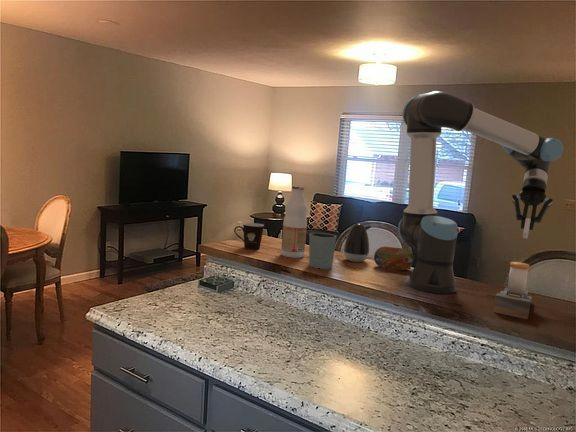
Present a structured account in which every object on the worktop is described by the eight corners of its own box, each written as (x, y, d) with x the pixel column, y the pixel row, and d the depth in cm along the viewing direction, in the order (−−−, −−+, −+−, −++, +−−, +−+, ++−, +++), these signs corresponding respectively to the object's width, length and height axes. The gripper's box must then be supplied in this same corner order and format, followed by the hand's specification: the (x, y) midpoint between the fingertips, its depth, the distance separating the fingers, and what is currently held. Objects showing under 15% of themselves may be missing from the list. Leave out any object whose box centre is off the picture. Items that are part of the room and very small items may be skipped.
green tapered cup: (318, 270, 171) (321, 237, 170) (301, 264, 179) (303, 232, 178) (339, 268, 177) (342, 236, 176) (321, 262, 185) (324, 231, 184)
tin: (373, 267, 185) (375, 245, 184) (372, 265, 188) (375, 244, 187) (412, 271, 183) (415, 250, 182) (412, 269, 186) (414, 248, 185)
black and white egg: (373, 263, 191) (377, 225, 189) (350, 263, 187) (354, 225, 185) (360, 257, 200) (364, 221, 198) (338, 257, 196) (341, 221, 194)
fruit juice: (280, 257, 188) (285, 186, 185) (281, 252, 198) (287, 184, 194) (303, 259, 188) (310, 188, 184) (304, 254, 197) (310, 186, 194)
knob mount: (500, 296, 156) (502, 280, 156) (530, 302, 152) (533, 286, 151) (493, 312, 139) (496, 294, 138) (527, 319, 135) (530, 300, 134)
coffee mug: (266, 248, 202) (268, 225, 201) (254, 251, 195) (256, 227, 194) (244, 244, 208) (245, 221, 207) (231, 246, 201) (233, 222, 200)
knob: (506, 292, 153) (511, 260, 152) (525, 296, 151) (530, 263, 149) (504, 296, 148) (509, 263, 147) (524, 300, 146) (529, 266, 145)
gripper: (554, 193, 171) (546, 245, 158) (514, 189, 177) (503, 239, 164) (556, 179, 165) (548, 231, 153) (515, 175, 171) (504, 225, 159)
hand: (525, 235), depth 159 cm, fingers closed
